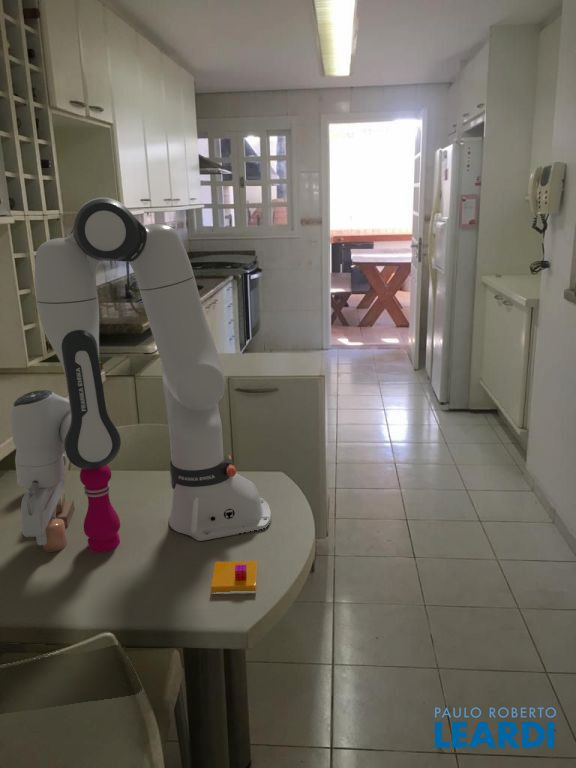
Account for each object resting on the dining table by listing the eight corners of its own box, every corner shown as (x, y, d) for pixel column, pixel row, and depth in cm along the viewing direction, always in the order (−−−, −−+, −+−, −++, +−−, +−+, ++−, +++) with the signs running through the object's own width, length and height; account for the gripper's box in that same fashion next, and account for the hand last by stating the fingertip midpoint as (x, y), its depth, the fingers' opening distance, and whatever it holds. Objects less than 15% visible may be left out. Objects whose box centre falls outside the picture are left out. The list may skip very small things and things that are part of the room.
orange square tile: (211, 597, 113) (210, 576, 111) (215, 571, 120) (214, 552, 119) (256, 596, 113) (255, 575, 111) (257, 570, 120) (256, 551, 119)
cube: (65, 502, 143) (62, 482, 141) (62, 512, 138) (59, 491, 137) (42, 504, 142) (39, 484, 140) (38, 515, 137) (35, 494, 136)
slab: (74, 511, 145) (73, 499, 144) (68, 528, 137) (66, 516, 136) (38, 514, 144) (37, 502, 143) (29, 531, 136) (28, 519, 135)
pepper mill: (96, 534, 134) (85, 447, 128) (128, 537, 133) (118, 449, 127) (79, 552, 127) (67, 462, 121) (112, 555, 126) (101, 464, 120)
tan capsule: (69, 539, 132) (66, 517, 131) (64, 550, 128) (61, 528, 126) (46, 540, 132) (43, 519, 130) (41, 552, 127) (37, 530, 126)
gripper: (45, 493, 115) (51, 560, 119) (67, 451, 135) (72, 510, 138) (9, 495, 114) (16, 562, 118) (36, 453, 134) (42, 511, 138)
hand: (46, 534), depth 128 cm, fingers open, 6 cm apart
